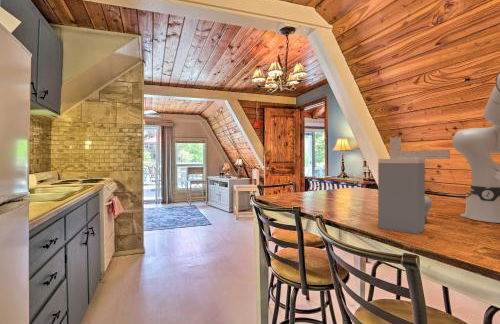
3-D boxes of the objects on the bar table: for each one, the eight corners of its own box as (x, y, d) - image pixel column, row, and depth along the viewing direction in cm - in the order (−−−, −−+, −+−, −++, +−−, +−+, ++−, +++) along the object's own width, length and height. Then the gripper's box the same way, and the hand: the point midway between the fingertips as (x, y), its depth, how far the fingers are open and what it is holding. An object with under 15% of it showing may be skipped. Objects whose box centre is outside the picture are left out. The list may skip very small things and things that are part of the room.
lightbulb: (434, 224, 108) (434, 196, 108) (417, 223, 110) (417, 196, 109) (428, 220, 114) (428, 194, 114) (411, 220, 115) (412, 194, 115)
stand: (387, 223, 110) (387, 158, 110) (424, 229, 101) (424, 158, 101) (378, 227, 103) (378, 158, 103) (417, 234, 94) (417, 158, 94)
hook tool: (392, 158, 105) (392, 138, 105) (449, 158, 93) (449, 135, 93) (389, 158, 103) (389, 137, 103) (448, 158, 91) (448, 134, 91)
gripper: (551, 184, 83) (498, 161, 91) (560, 189, 68) (495, 161, 76) (536, 201, 85) (485, 177, 93) (541, 209, 70) (480, 180, 78)
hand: (489, 170), depth 85 cm, fingers open, 8 cm apart
